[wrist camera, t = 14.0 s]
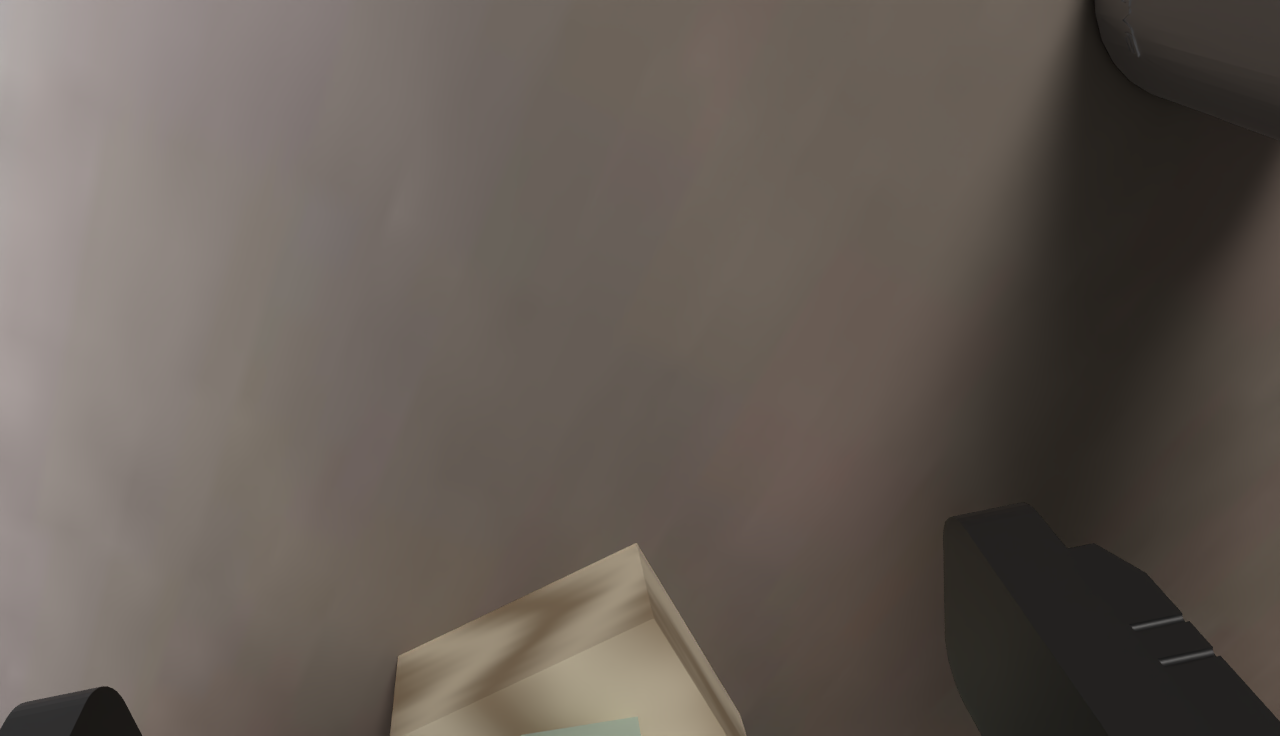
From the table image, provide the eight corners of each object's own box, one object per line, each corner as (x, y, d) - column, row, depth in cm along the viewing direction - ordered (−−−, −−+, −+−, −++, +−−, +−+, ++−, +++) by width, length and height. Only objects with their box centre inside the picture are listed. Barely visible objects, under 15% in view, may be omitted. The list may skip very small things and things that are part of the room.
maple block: (635, 537, 42) (653, 618, 38) (738, 709, 47) (765, 797, 43) (398, 650, 43) (389, 742, 39) (524, 806, 48) (528, 904, 44)
